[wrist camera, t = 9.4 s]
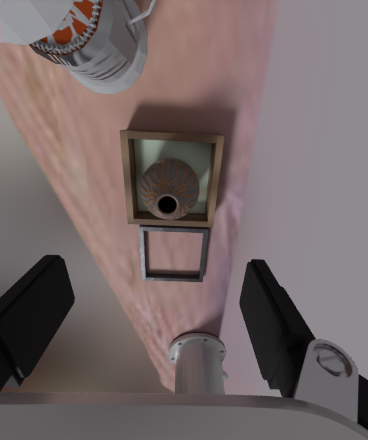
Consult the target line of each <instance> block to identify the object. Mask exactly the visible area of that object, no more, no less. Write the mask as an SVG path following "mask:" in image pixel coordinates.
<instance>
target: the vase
mask: <svg viewBox="0 0 368 440" xmlns="http://www.w3.org/2000/svg"><path fill="white" fill-rule="evenodd" d="M199 192H200V186H199V180H198V177H197V175H196V173H195V172H194V170H193V169H192V168H191V167H190V166H189V165H188V164H187V163H186V162H184V161H182V160H180V159H176V158H164V159H161V160H158V161H156V162H154V163H153V164H152V165H151V166H149V168H148V169H147V170H146V171H145V173H144V175H143V177H142V180H141V185H140V193H141V198H142V201H143V203H144V205H145V206H146V208H147V209H148V210H149V211H150V212H151V213H152V214H154V215H155V216H157V217H159V218H162V219H167V220H173V219H178V218H181V217H183V216H185V215H186V214H188V213H189V212H190V211H191V210H192V209H193V207H194V206H195V204H196V203H197V200H198V197H199Z"/></svg>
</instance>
